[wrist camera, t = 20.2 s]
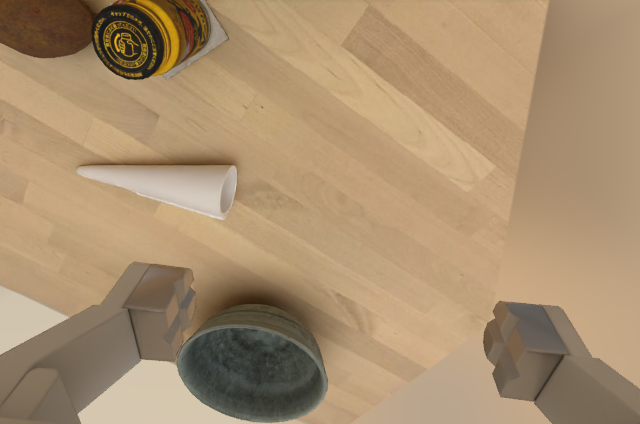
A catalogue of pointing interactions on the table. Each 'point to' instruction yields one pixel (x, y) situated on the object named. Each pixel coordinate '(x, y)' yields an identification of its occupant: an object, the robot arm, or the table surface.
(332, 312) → the table surface
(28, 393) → the robot arm
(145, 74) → the condiment
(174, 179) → the long cone
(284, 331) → the bowl
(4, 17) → the potato
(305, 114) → the table surface
